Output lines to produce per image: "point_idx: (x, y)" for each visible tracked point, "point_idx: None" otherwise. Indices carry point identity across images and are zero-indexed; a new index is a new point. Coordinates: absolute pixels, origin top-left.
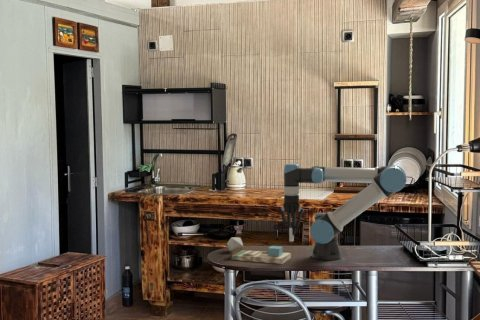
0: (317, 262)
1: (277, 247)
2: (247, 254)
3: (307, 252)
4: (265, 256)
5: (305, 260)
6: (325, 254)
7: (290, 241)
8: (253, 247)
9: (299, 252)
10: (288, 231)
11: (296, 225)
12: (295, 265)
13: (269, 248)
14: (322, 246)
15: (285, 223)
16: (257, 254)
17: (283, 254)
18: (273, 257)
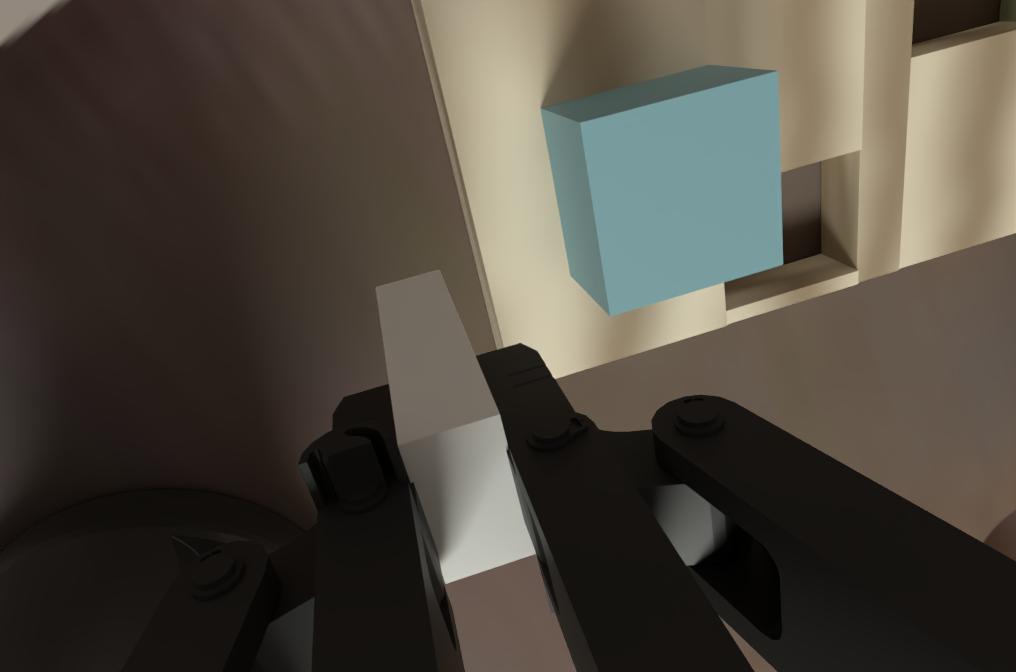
0: (57, 364)
1: (652, 208)
2: (994, 34)
3: (472, 643)
4: (727, 16)
5: (266, 361)
6: (32, 565)
7: (414, 277)
8: (1012, 485)
9: (542, 597)
10: (524, 386)
11: (227, 606)
12: (187, 24)
13: (746, 79)
14: (64, 656)
15: (724, 482)
16: (871, 80)
17: (554, 268)
18: (590, 9)
